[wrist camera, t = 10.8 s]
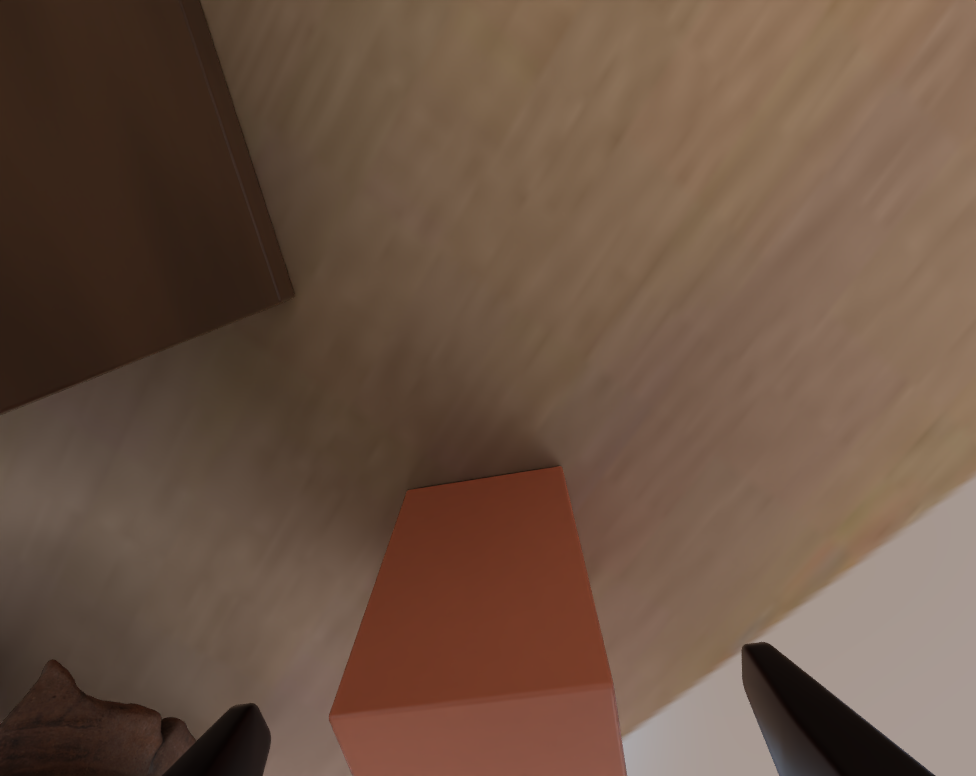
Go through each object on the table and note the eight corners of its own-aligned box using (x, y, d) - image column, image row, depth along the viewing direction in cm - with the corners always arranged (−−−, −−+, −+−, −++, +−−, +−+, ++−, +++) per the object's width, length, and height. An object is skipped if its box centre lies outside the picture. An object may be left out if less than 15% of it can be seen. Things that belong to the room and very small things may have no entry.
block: (441, 610, 14) (397, 887, 8) (406, 489, 12) (325, 718, 7) (582, 591, 13) (641, 868, 8) (561, 464, 12) (613, 685, 6)
